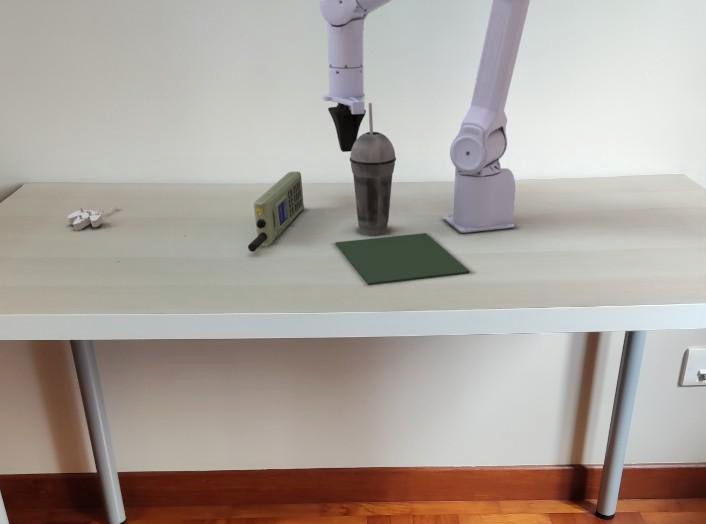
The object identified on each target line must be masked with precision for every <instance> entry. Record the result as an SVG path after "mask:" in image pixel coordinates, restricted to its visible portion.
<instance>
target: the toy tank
mask: <svg viewBox="0 0 706 524" xmlns="http://www.w3.org/2000/svg"><path fill="white" fill-rule="evenodd" d="M112 209H113V207H111V208H110V209H109V210H108V212H106V214H108V213H110V212H111V210H112ZM115 209H116V211H118V207H115ZM102 213H103V214H104V213H105V212H104V211H102ZM102 213H101V212H100V211H96V210H88V209H87V210H85V209H83V208H82V207H80V208H79V210H76V211H74V212H72V213H70V214H69V215H68V216H67V220H68V223H69V225H73V227H74V230H75V231H80V230H82V229H84V228H85V227H87V226H89V225H90V223H91V226H92V228H98V227H99V226H101V224H102V223H103V221H104V219H103V216H102Z"/></svg>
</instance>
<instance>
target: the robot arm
mask: <svg viewBox="0 0 706 524" xmlns="http://www.w3.org/2000/svg"><path fill="white" fill-rule="evenodd" d="M319 1H320V3H319V7H320V12H321V15H322V17H323V19H324V20H325V21H326V23H327V51H328V52H327V53H328V54H327V55H328V88H329V89H328V90H329V93H327V94H322V100H323V101H326V102H333V103H337V105H336V106H330V107H327V110H328V113H329V114H330V117H331V119H332V121H333V125H334V127H335V130H336V137H337V140H338V145H339V149H340V151H341V152H342V153H348V152H351V150H352V147H353V145H354V143H355V141H356V140H357V139H358V136H359V135H358V134H359V131H360V127H361V124H362V122H363V119H364V118H365V116H366V112H367V110H366V109H365V99H366V94H365V93H364V91H365V90H364V88H365V87H364V83H365V81H364V30H365V29H364V23H365V20H366V18H367V17H368V16H369V14H371V13H373V12H375V11H376V10H378V9H379V8H381V7H383V6H385V5H387V4H389V3H390V2H393V0H319ZM530 2H531V0H492V3H491V8H490V13H489V18H488V24H487V27H486V31H485V36H484V40H483V46H482V49H481V50H482V51H481V55H480V58H479V59H480V60H479V65H478V70H477V74H476V78H475V83H474V88H473V92H472V97H471V102H470V107H469V108H468V111H467V112H466V113H465V115H464V117H463V119H462V121H461V123H460V128H459V131H458V133H457V135H456V136H455V137H454V139H452V142H451V144H450V147H449V156H450V160H451V162H452V165H453V166H454V169H455V171H454V188H453V189H454V190H453V207H452V209H453V211H452V212H453V213H452V215H448V216H447V215H446V216H444V217H443V219H444V221H446V223H448V224H450V225H451V226H452V227H453V228H455V230H457V231H458V232H460V233H462V234H465V233H474V232H482V231H483V232H485V231H495V230H505V229H512V228H515V224H514V211H515V199H516V179H515V176H514V174H513V171H512V170H511V169H510V168H505V167H503V168H502V167H501V162H500V159H501V158H502V157H503V156H504V154H506V151H507V148H508V137H507V131H506V129H507V125H508V117H507V115H506V112H505V108H506V104H507V100H508V95H509V91H510V88H511V83H512V79H513V74H514V70H515V67H516V66H515V65H516V62H517V57H518V54H519V49H520V44H521V41H522V36H523V31H524V27H525V23H526V20H527V15H528V10H529V7H530Z"/></svg>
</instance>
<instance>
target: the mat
mask: <svg viewBox="0 0 706 524" xmlns="http://www.w3.org/2000/svg"><path fill="white" fill-rule="evenodd" d="M335 245H336V246H337V248H338V249H339V250H340V252H341V253H342V254H343V255H344V256H345V257H346V259H347V260H348V261H349V262H350V264H351V265H352V266H353V267H354V268H355V270H356V271H357V273H358V274H359V275H360V276H361V277H362V279H363V280H364V281H365V282H366V284H367V285H369V286H370V285H377V284H387V283H395V282H403V281H412V280H413V281H414V280H421V279H429V278H439V277H447V276H455V275H464V274H470V270H469V269H468V268H467V267H466V266H464V264H462V263H461V262H460V261H459V260H458V259H456V258H455V257H454V256H453V255H452V254H451V253H449V252H448V250H446V249H445V248H444V247H443V246H442V245H441V244H440V243H438V242H437V241H436V240H435V239H433V238H432V237H431V236H430V235H429V234H428V233H427V232H424V233H423V232H422V233H413V234H405V235H394V236H383V237H374V238H366V239H365V238H364V239H356V240H346V241H337V242H335Z"/></svg>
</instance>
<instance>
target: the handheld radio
mask: <svg viewBox="0 0 706 524" xmlns="http://www.w3.org/2000/svg"><path fill="white" fill-rule="evenodd" d="M303 192H304V191H303V182H302V173H301V172H300V171H299V170H298V171H288V172H287V173H286V174H285V175H284V176H283V177H281V178H280V179H279V180H278V181H276V183H274V184H273V185H272V186H271V187H270V188H269V189H268V190H267V191H266V192H264V193H263V194H261V196H260V197H259V198H257V199H256V200H255V201H254V202H253V210H254V220H255V228H256V237H255V238H254V239H253V240H252V241H251V242H250V243H249V244H248V246H247V249H248V251H249V252H251V253H254V252H256V251H257V250H258V248H260V247H268V246H270V245H271V243H273V242H274V241H275V240H276V239H277V238H278V237H279V235H281V233H282V232H283V231H284V230H285V229H286V228H287V227H288V226H289V224H290V223H292V222H293V220H294V219H296V217H297V216H298V215H299V214H300V213H301V212H302V211H303V210H304V208H305V205H304V193H303Z"/></svg>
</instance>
